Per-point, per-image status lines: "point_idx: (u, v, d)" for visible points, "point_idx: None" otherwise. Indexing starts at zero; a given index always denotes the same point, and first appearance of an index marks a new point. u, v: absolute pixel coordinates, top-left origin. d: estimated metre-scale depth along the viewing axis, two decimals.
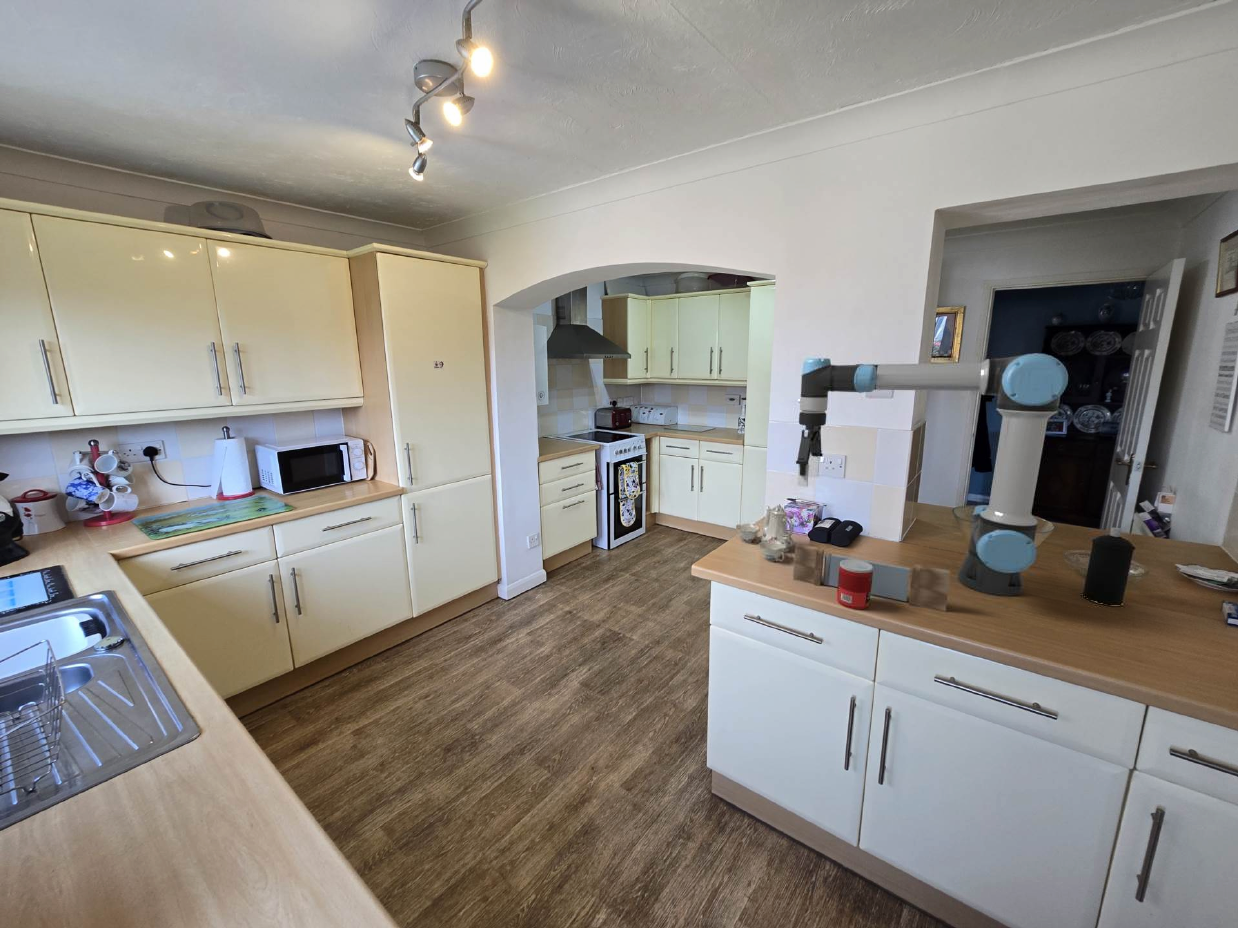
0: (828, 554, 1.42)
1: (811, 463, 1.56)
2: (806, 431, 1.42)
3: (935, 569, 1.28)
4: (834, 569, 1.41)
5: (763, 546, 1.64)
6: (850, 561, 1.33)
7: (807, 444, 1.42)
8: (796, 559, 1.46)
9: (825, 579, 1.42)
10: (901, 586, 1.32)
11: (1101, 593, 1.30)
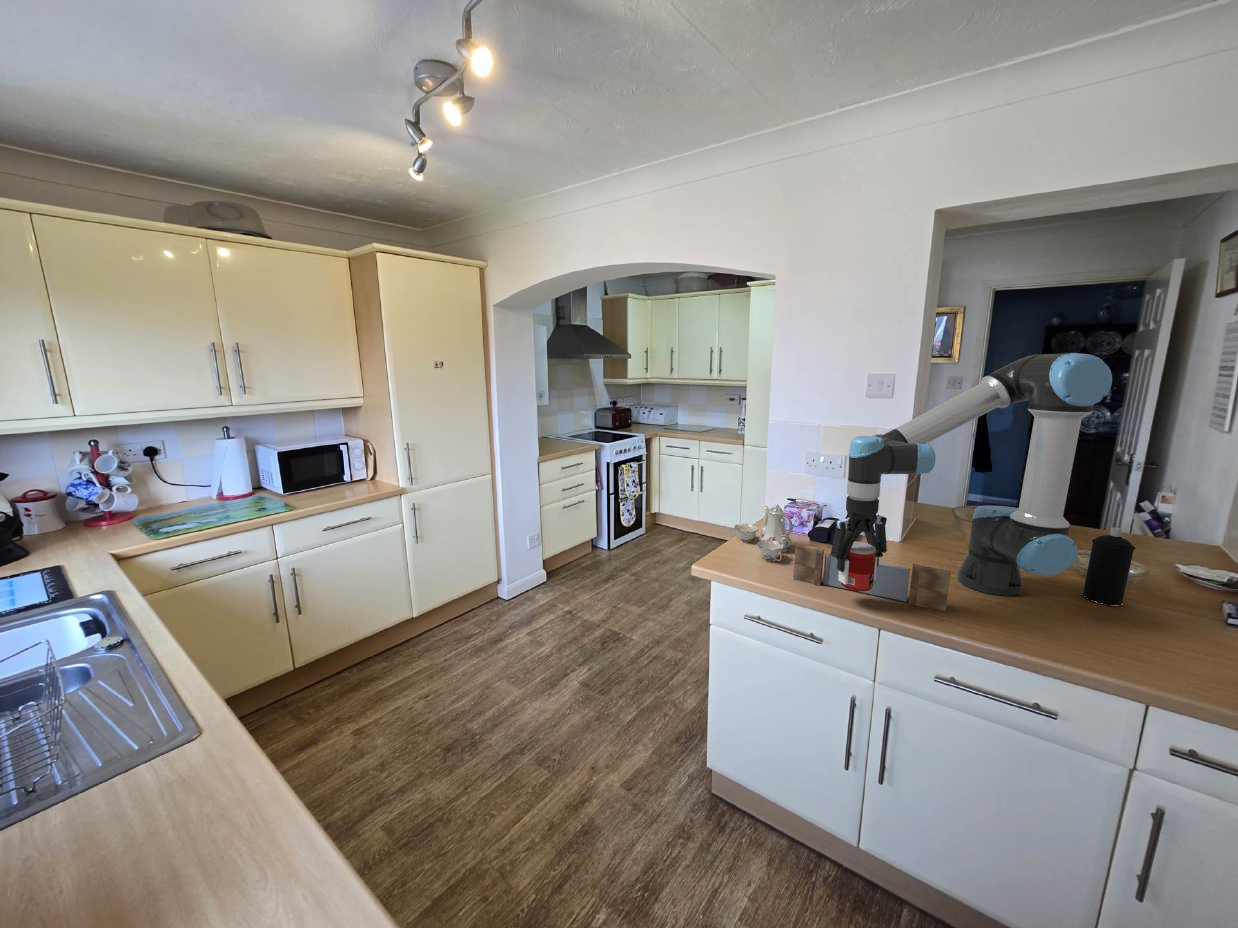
0: (828, 554, 1.42)
1: None
2: (838, 522, 1.26)
3: (935, 569, 1.28)
4: (834, 569, 1.41)
5: (761, 546, 1.64)
6: (853, 543, 1.32)
7: (839, 537, 1.26)
8: (796, 559, 1.46)
9: (825, 579, 1.42)
10: (901, 586, 1.32)
11: (1101, 593, 1.30)
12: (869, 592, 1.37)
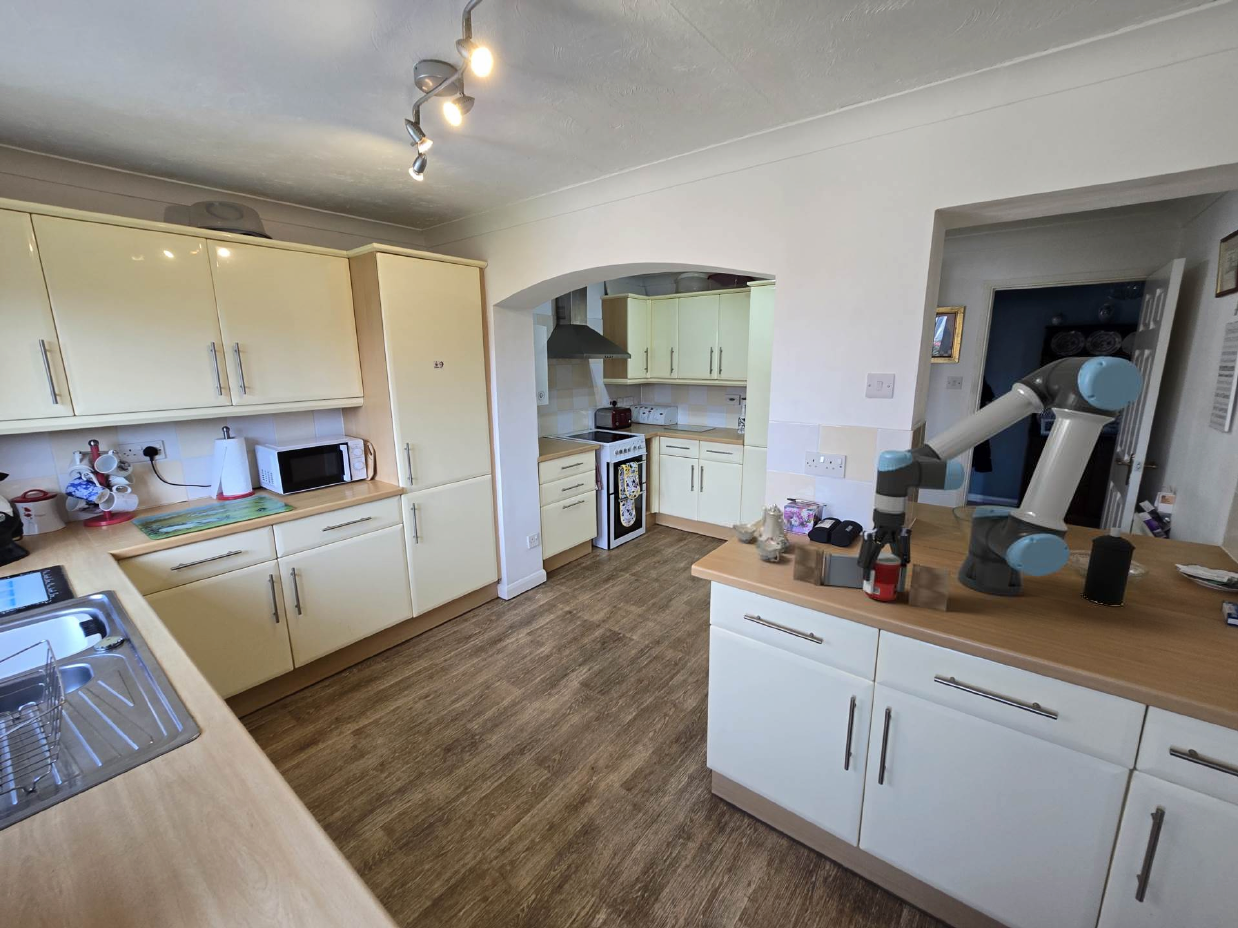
0: (828, 554, 1.42)
1: None
2: (865, 534, 1.30)
3: (935, 569, 1.28)
4: (835, 569, 1.41)
5: (758, 546, 1.64)
6: None
7: (866, 548, 1.30)
8: (796, 559, 1.46)
9: (826, 579, 1.42)
10: None
11: (1101, 593, 1.30)
12: None
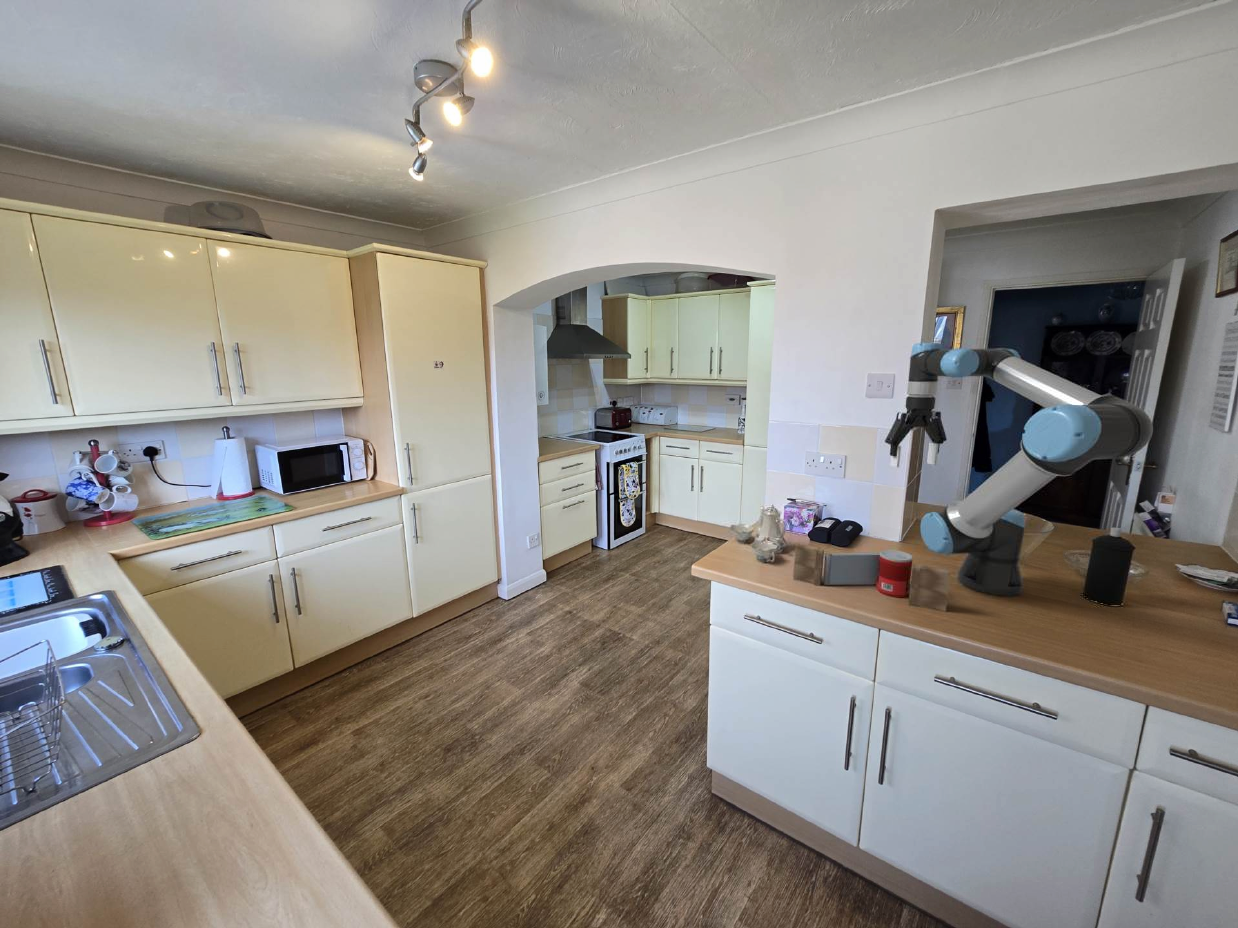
0: (828, 554, 1.42)
1: (930, 450, 1.54)
2: (900, 413, 1.48)
3: (935, 569, 1.28)
4: (835, 568, 1.42)
5: (755, 546, 1.64)
6: (889, 551, 1.40)
7: (898, 426, 1.48)
8: (796, 559, 1.46)
9: (827, 579, 1.42)
10: None
11: (1101, 593, 1.30)
12: (866, 583, 1.43)
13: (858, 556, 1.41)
